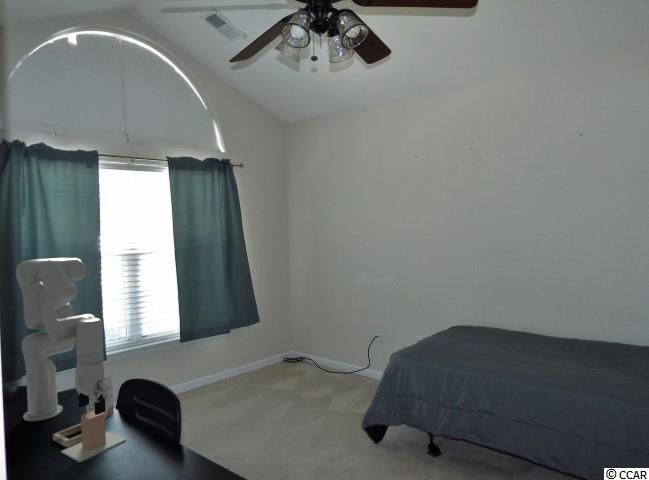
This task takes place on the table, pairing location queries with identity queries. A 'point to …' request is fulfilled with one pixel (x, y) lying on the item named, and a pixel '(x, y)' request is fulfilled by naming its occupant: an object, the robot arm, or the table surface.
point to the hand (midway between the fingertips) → (91, 409)
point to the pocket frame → (61, 436)
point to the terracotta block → (93, 430)
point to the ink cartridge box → (107, 402)
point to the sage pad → (82, 453)
